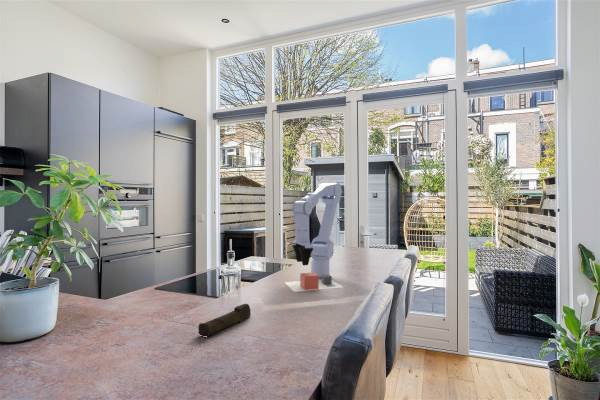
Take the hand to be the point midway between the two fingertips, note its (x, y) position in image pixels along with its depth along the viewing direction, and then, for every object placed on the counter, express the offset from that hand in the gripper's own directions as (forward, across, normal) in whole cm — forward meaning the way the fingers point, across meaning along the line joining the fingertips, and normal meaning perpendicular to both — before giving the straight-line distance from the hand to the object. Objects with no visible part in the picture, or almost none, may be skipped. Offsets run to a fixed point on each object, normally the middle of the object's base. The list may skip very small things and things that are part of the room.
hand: (302, 263), depth 141 cm
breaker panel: (+9, +4, +3) cm, 11 cm away
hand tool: (+10, +34, -34) cm, 49 cm away
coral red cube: (+8, +8, 0) cm, 11 cm away
